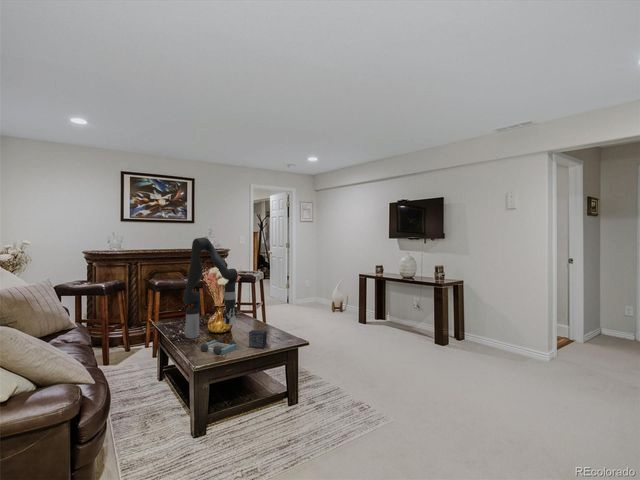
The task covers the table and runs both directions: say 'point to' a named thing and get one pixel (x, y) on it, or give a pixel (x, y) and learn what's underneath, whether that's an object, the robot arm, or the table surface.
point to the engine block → (231, 320)
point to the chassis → (216, 344)
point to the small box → (257, 339)
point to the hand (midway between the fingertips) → (229, 323)
